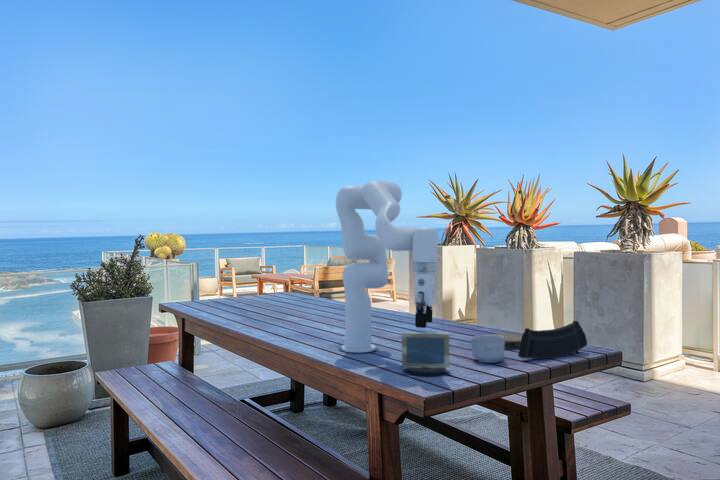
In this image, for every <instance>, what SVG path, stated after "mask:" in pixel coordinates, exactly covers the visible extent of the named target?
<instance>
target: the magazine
mask: <svg viewBox="0 0 720 480" xmlns="http://www.w3.org/2000/svg"><path fill="white" fill-rule="evenodd" d="M579 322H580V321H577V320H573V321H572V322H571V323H568V324H566V325H564V326H561V327H558V328H557V327H556V328H553V329H543V330H542V329H541V330H533V329H530V328H528V327H526V328H525V329H524V332H523V333H522V334H521V335H522V339H521V344H520V349H518V354H517V356H518V357H519V358H522V359H539V360H540V359H541V360H542V359H543V360H544V359H555V358H560V357H564V356H568V355H570V354H572V353H577V354H579V351H580V350H582V349H583V348H585V347H587V345H588V341H587V336H586V333H585V331H584V329H583V327H582V326H581V323H579Z"/></svg>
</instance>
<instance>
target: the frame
mask: <svg viewBox="0 0 720 480" xmlns="http://www.w3.org/2000/svg"><path fill="white" fill-rule="evenodd" d="M401 367H405V368H406V367H445V368H450V333H449V332H406V331H405V332H403V331H402V332H401Z"/></svg>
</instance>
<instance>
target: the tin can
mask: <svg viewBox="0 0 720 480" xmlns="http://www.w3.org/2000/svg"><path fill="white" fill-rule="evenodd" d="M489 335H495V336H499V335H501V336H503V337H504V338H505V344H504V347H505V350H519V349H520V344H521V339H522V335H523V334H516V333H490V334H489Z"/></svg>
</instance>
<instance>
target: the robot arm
mask: <svg viewBox="0 0 720 480" xmlns="http://www.w3.org/2000/svg"><path fill="white" fill-rule="evenodd" d="M402 197H403V192H402V189H401V187H400V185H399V184H398V183H396V182H394V181H388V180H387V181H386V180H370V181H367V182H365V183H364V184H363V185H345V186H342V187H341V188H339V190H338V191H337V193H336V195H335V209H336V213H337V216H338V219H339V223H340V229H341V237H342V246H343V247H342V248H343V252H344V255H345V258H347V259H348V260H351V261H365V260H366V261H368V262H355V263H354V262H353V263H350V264H347V265H346V266H345V267H344V268H343V270H342V275H341V277H342V284H343V288H344V307H345V308H344V309H345V314H344V315H345V316H344V317H345V319H344V320H345V324H344V325H345V326H344V327H345V330H344V331H345V334H344V336H343V337H341V341H342V342H344V344H343V345H341V346H340V349H341V351H342V352H345V353H353V354H355V353H357V354H362V353H363V354H364V353H371V352H374V351H375V350H377V349H376V348H377V346H376V345H374V344H372V299H371V297H370V294H369V293H368V291H367V290H368V289H380V288H384V287H385V286H386V285H387V284H388V281H389V268H388V258H387V251H386V250H387V249H388V250H390V251H393V252H401V251H402V252H406V251H407V252H412V254H411V255H412V257H411V258H412V259H411V261H412V262H411V273H412V274H415V275H414V305H415V317H414V318H415V319H414V321H415V322H414V323H415V324H414V326H415V328H419V329H426V328H427V323H431V324H432V322H433V306H434V305H435V304H436V302H437V301H436V300H437V298H436V296H437V295H436V276H435V274H438V245H439V244H438V243H439V241H438V238H439V237H438V230H437V229H436V228H435V227H417V226H395V225H393V223H392V222H393V221H395V220H396V219H397V218H398V217H399V215H400V214H401V213H400V212H401V205H400V204H399V203H400V202H401V200H402ZM356 210H371V211H372V212H373V214H374V215H375V217H376V219H375V225H374V228H375V233H376V234H367V233H366V231H365V224H364V221H363V218H362V217H361V215H360V214H359V213H358V212H357V211H356Z"/></svg>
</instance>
